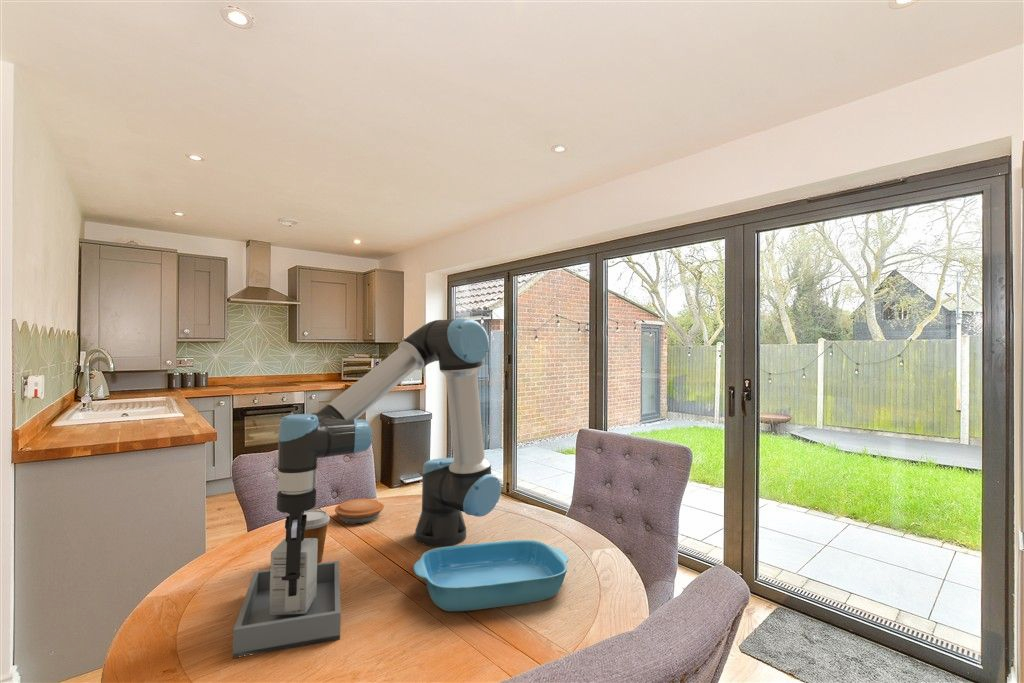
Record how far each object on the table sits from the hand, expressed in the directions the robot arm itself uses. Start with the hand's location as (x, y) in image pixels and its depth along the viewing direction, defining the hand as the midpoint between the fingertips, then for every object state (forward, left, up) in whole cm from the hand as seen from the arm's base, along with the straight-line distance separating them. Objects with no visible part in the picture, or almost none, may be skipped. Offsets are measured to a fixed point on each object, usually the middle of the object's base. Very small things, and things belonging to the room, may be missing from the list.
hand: (293, 598), depth 100 cm
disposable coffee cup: (-2, -26, -3) cm, 26 cm away
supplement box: (0, 0, -2) cm, 2 cm away
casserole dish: (-43, +3, -4) cm, 43 cm away
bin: (0, 0, -3) cm, 3 cm away
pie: (-16, -56, -4) cm, 58 cm away
